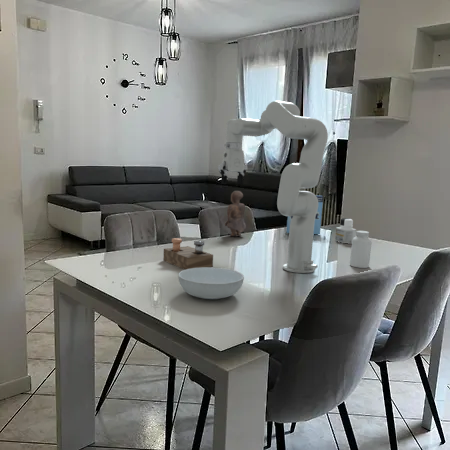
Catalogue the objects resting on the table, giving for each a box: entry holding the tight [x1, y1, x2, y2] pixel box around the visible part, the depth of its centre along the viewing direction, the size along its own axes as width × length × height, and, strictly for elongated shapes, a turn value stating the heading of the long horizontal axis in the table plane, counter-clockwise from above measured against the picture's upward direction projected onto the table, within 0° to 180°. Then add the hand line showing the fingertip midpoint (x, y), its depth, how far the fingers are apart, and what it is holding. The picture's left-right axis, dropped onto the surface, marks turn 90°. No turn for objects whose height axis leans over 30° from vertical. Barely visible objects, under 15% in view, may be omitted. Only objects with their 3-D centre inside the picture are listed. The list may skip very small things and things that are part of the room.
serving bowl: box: [177, 267, 245, 300], centre depth 147 cm, size 21×21×7 cm
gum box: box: [286, 195, 324, 235], centre depth 272 cm, size 20×5×23 cm, turn 85°
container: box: [334, 217, 357, 244], centre depth 252 cm, size 8×8×13 cm
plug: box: [193, 240, 205, 255], centre depth 185 cm, size 4×4×5 cm
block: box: [162, 245, 214, 270], centre depth 187 cm, size 18×12×5 cm, turn 37°
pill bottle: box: [349, 230, 373, 269], centre depth 197 cm, size 8×8×15 cm
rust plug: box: [171, 237, 183, 252], centre depth 187 cm, size 4×4×5 cm
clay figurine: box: [224, 190, 247, 237], centre depth 252 cm, size 13×10×25 cm
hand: (232, 184), depth 216 cm, fingers open, 9 cm apart
